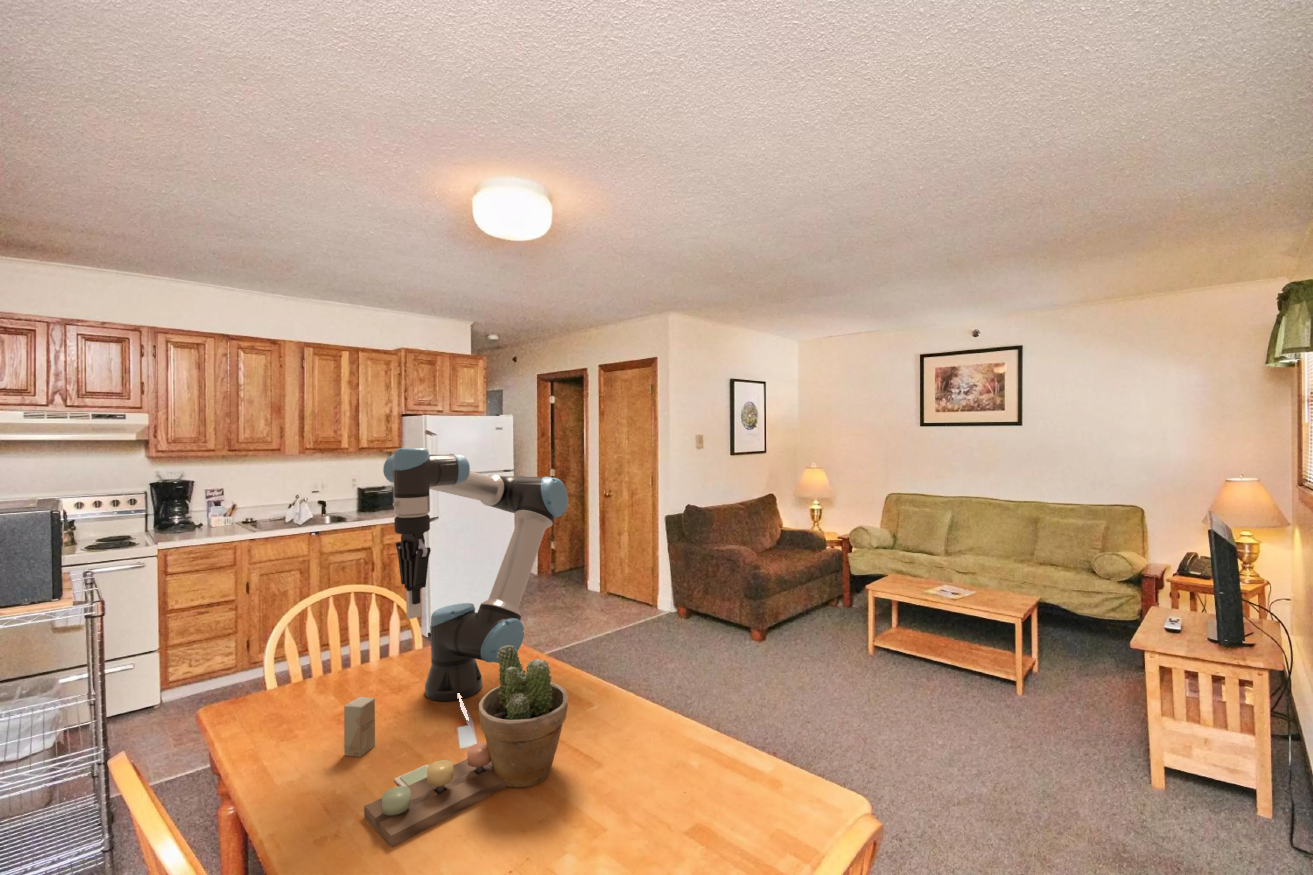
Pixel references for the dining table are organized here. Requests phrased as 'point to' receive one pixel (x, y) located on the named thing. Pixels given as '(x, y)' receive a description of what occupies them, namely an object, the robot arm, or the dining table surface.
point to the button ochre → (440, 774)
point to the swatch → (412, 776)
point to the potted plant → (522, 720)
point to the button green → (396, 800)
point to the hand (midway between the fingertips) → (413, 616)
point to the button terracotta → (478, 756)
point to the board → (435, 802)
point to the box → (359, 726)
